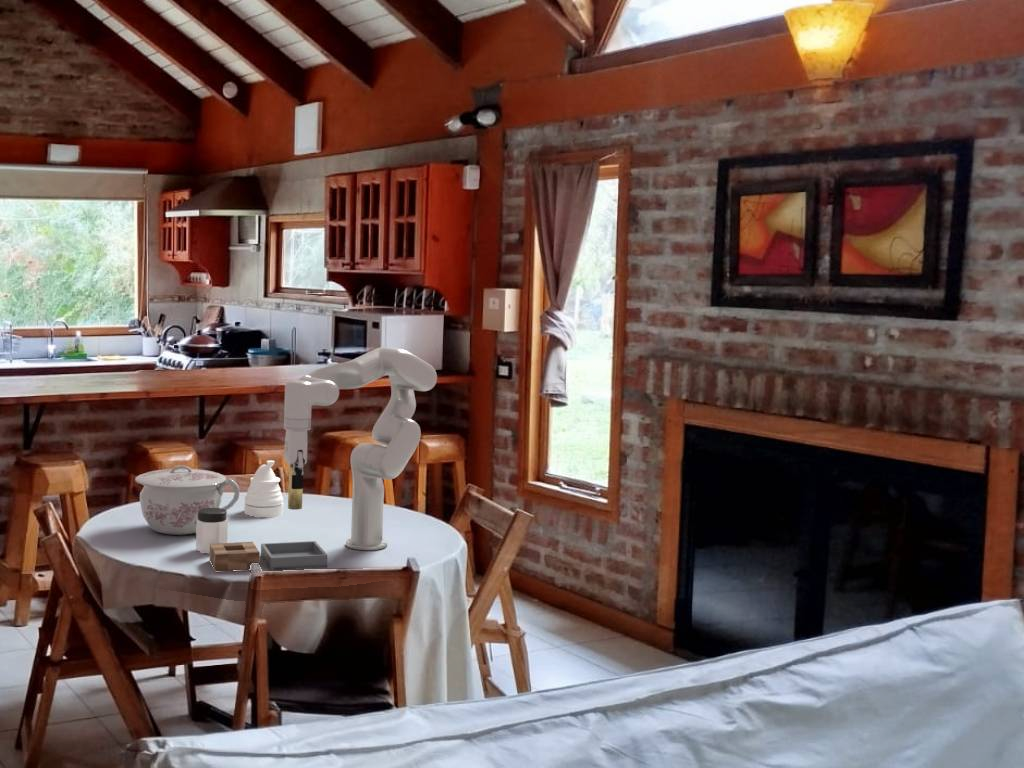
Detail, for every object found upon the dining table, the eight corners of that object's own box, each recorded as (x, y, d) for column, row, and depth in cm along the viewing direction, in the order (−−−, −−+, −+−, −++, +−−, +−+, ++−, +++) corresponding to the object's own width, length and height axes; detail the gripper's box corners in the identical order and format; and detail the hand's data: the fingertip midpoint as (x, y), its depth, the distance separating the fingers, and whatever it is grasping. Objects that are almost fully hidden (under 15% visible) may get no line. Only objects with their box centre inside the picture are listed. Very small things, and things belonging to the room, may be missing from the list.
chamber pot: (114, 531, 356) (115, 465, 353) (179, 515, 380) (180, 453, 378) (183, 546, 343) (184, 477, 341) (245, 529, 367) (246, 465, 365)
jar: (209, 545, 345) (209, 506, 344) (232, 549, 343) (233, 509, 341) (190, 552, 337) (191, 511, 336) (213, 556, 334) (214, 515, 333)
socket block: (209, 560, 329) (209, 543, 328) (252, 558, 333) (252, 541, 333) (215, 572, 318) (215, 554, 317) (259, 569, 322) (259, 552, 322)
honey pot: (287, 510, 396) (289, 458, 394) (276, 518, 383) (277, 465, 381) (251, 507, 397) (252, 456, 395) (238, 516, 384) (240, 462, 382)
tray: (260, 555, 337) (261, 543, 337) (315, 552, 343) (315, 541, 343) (270, 570, 323) (270, 558, 322) (327, 567, 329) (327, 555, 328)
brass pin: (286, 506, 332) (287, 465, 331) (300, 506, 334) (301, 465, 332) (289, 509, 329) (290, 468, 327) (303, 509, 330) (304, 468, 329)
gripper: (278, 419, 335) (277, 481, 337) (290, 428, 319) (288, 493, 321) (304, 419, 338) (302, 481, 340) (316, 428, 322) (314, 492, 324)
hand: (295, 486), depth 330 cm, fingers closed on brass pin, 4 cm apart
